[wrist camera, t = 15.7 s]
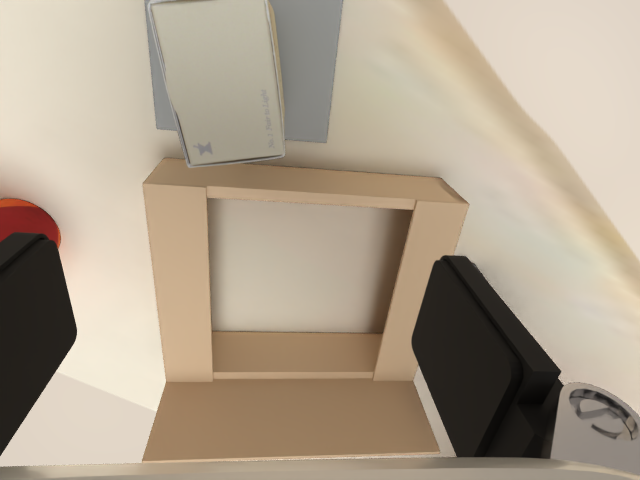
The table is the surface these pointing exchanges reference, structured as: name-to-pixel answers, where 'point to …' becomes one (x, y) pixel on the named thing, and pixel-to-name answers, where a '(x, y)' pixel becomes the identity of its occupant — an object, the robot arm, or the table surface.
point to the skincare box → (221, 78)
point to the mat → (285, 67)
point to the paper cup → (26, 220)
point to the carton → (287, 347)
